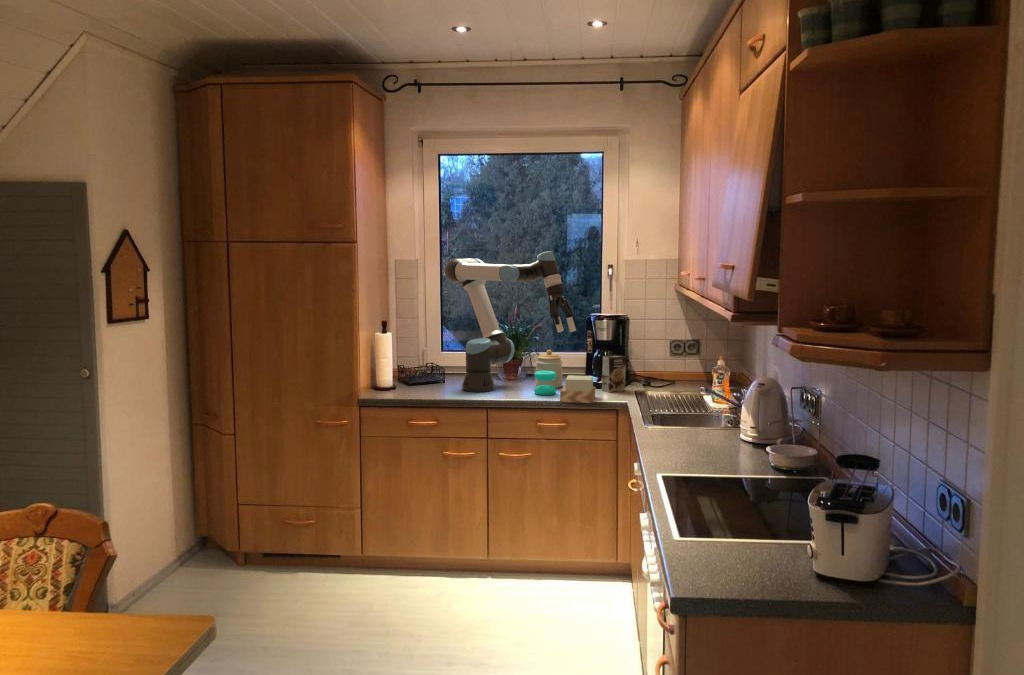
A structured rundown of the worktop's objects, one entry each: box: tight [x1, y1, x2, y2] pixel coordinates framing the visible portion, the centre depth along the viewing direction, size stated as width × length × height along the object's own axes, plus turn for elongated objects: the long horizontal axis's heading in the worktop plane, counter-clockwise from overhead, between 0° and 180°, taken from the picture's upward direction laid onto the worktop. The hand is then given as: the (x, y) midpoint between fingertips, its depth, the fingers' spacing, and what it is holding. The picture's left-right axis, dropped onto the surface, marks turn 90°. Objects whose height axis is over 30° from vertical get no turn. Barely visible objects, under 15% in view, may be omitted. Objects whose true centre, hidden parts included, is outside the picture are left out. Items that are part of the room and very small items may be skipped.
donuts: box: [533, 371, 557, 396], centre depth 349 cm, size 10×10×10 cm
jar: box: [535, 349, 564, 389], centre depth 368 cm, size 13×13×18 cm
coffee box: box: [601, 354, 627, 393], centre depth 357 cm, size 9×6×16 cm
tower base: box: [559, 385, 596, 404], centre depth 337 cm, size 14×14×5 cm
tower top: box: [564, 374, 594, 392], centre depth 336 cm, size 11×11×5 cm
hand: (567, 331), depth 340 cm, fingers open, 13 cm apart
